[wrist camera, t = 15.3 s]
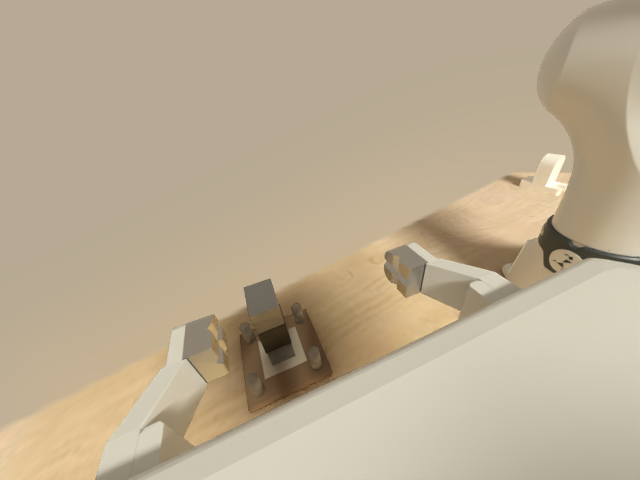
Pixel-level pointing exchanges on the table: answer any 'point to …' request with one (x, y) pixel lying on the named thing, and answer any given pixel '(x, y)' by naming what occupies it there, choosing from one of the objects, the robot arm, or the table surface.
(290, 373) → the peg cradle
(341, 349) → the table surface
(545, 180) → the cable organizer
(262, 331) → the grey rectangular block
